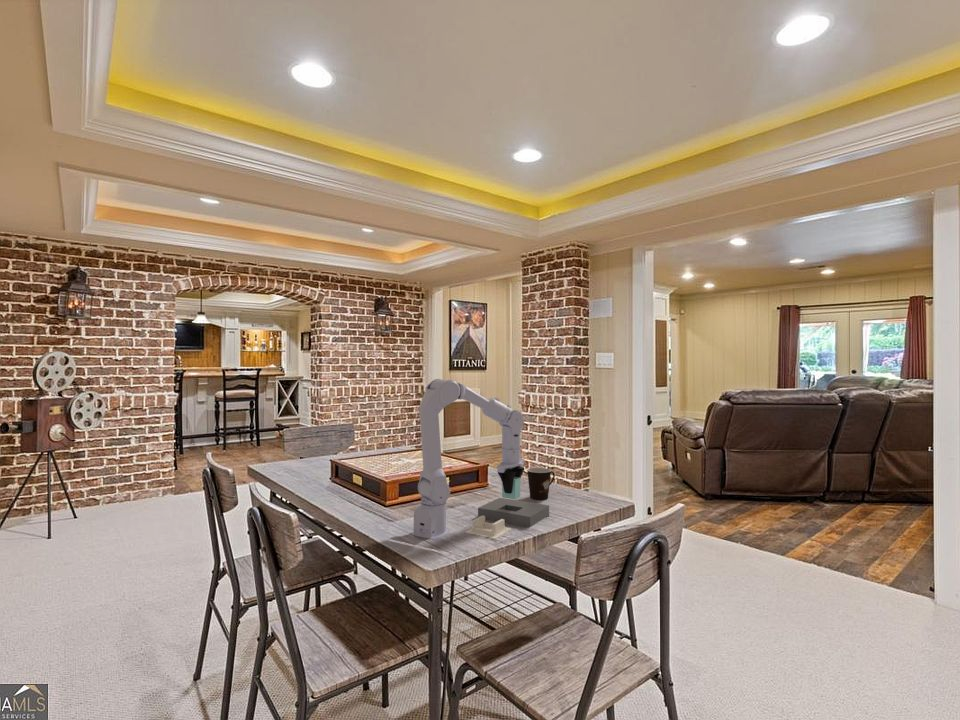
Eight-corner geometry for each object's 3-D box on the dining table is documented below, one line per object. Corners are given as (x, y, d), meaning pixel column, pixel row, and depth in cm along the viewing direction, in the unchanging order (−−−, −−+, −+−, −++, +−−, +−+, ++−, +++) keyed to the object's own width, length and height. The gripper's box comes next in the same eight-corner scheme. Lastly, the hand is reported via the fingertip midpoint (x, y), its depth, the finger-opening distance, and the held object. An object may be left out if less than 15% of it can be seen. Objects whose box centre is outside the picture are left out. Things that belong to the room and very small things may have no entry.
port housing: (530, 528, 153) (530, 516, 153) (477, 518, 162) (477, 507, 162) (549, 516, 165) (549, 505, 165) (499, 508, 174) (499, 497, 174)
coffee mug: (531, 501, 182) (531, 473, 182) (523, 495, 191) (524, 468, 191) (562, 499, 185) (562, 471, 185) (553, 493, 193) (553, 466, 193)
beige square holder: (495, 540, 143) (495, 527, 143) (464, 533, 148) (464, 521, 148) (511, 530, 152) (512, 518, 152) (482, 524, 157) (482, 512, 157)
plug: (515, 499, 159) (515, 479, 159) (502, 497, 161) (502, 478, 161) (520, 496, 162) (520, 477, 162) (507, 494, 164) (507, 475, 164)
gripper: (511, 452, 154) (511, 498, 154) (532, 445, 166) (532, 488, 166) (491, 450, 157) (491, 495, 157) (513, 443, 170) (513, 485, 170)
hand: (511, 491), depth 162 cm, fingers closed on plug, 3 cm apart
